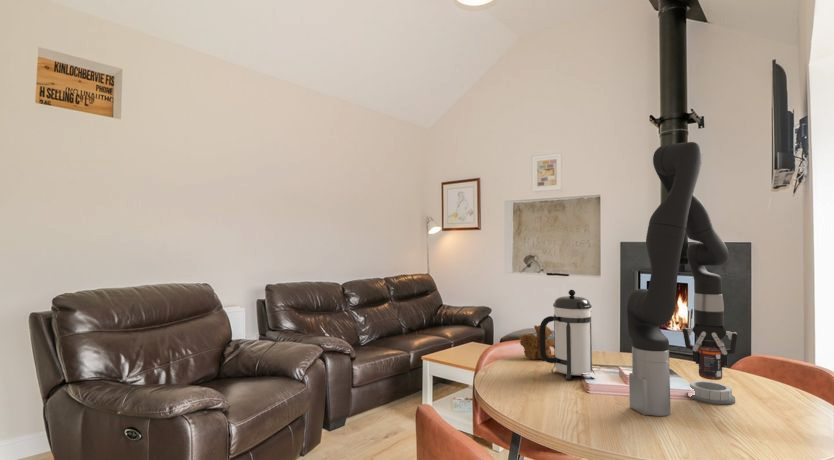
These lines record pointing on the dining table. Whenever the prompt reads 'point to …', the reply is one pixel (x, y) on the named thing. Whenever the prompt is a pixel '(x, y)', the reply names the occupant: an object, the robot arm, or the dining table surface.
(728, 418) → the dining table surface
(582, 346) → the coffee press
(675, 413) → the dining table surface
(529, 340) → the stuffed squirrel
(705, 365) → the supplement bottle
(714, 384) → the bottle socket
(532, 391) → the dining table surface
